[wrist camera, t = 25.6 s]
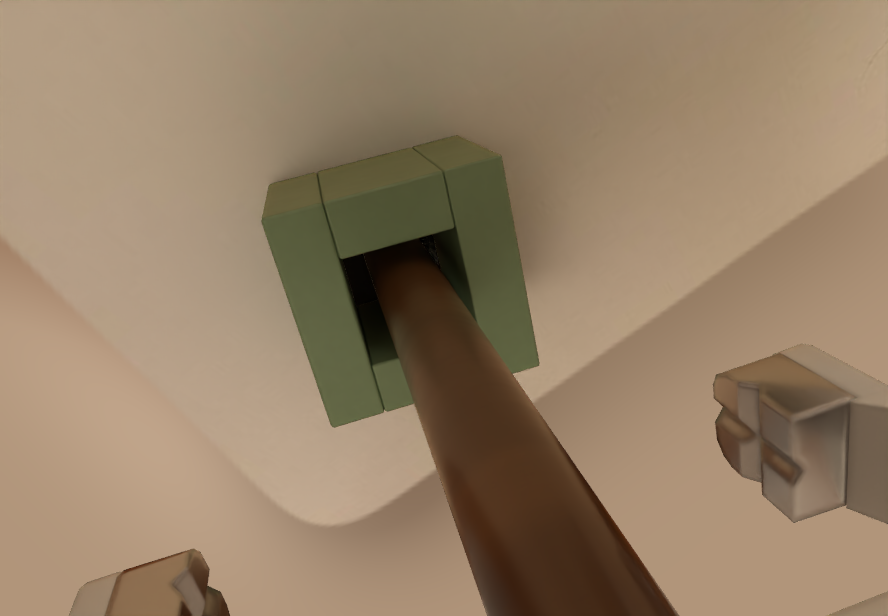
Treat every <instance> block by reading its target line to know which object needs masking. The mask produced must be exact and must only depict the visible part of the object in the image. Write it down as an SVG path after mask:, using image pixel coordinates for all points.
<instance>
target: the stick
mask: <svg viewBox="0 0 888 616" xmlns="http://www.w3.org/2000/svg"><path fill="white" fill-rule="evenodd" d="M364 259H365V262H366V265H367V268H368V271H369V274H370V277H371V279H372V282H373V285H374V288H375V291H376V294H377V297H378V300H379V303H380V306H381V309H382V311H383V314H384V317H385V320H386V323H387V326H388V329H389V332H390V335H391V338H392V340H393V343H394V346H395V349H396V352H397V355H398V358H399V361H400V364H401V367H402V370H403V372H404V375H405V378H406V381H407V384H408V387H409V390H410V393H411V396H412V399H413V401H414V404H415V407H416V410H417V413H418V416H419V419H420V422H421V425H422V428H423V431H424V433H425V436H426V439H427V442H428V445H429V448H430V451H431V454H432V457H433V460H434V462H435V465H436V468H437V471H438V474H439V477H440V480H441V483H442V486H443V488H444V492H445V494H446V497H447V500H448V503H449V506H450V509H451V512H452V515H453V518H454V521H455V523H456V526H457V529H458V532H459V535H460V538H461V541H462V544H463V546H464V549H465V553H466V555H467V558H468V561H469V564H470V567H471V570H472V573H473V576H474V579H475V581H476V584H477V587H478V590H479V593H480V596H481V599H482V602H483V605H484V608H485V610H486V613H487V616H679V615H678V613H677V612H676V610H675V609H674V608H673V606H672V605H671V603H670V602H669V600H668V599H667V597H666V596H665V595H664V593H663V592H662V590H661V589H660V587H659V586H658V585H657V583H656V582H655V580H654V579H653V577H652V576H651V574H650V573H649V571H648V570H647V568H646V567H645V566H644V564H643V563H642V561H641V560H640V558H639V557H638V555H637V554H636V552H635V551H634V550H633V548H632V547H631V545H630V544H629V542H628V541H627V539H626V538H625V537H624V535H623V534H622V532H621V531H620V529H619V528H618V526H617V525H616V524H615V522H614V521H613V519H612V518H611V516H610V515H609V514H608V512H607V511H606V509H605V508H604V506H603V505H602V503H601V502H600V500H599V499H598V497H597V496H596V495H595V493H594V492H593V490H592V489H591V487H590V486H589V484H588V483H587V481H586V480H585V479H584V477H583V476H582V474H581V473H580V471H579V470H578V469H577V467H576V466H575V464H574V463H573V461H572V460H571V458H570V457H569V455H568V454H567V452H566V451H565V450H564V448H563V447H562V445H561V444H560V442H559V441H558V439H557V438H556V436H555V435H554V434H553V432H552V431H551V429H550V428H549V427H548V425H547V423H546V422H545V421H544V419H543V418H542V416H541V415H540V413H539V412H538V410H537V409H536V408H535V406H534V405H533V403H532V402H531V400H530V399H529V397H528V396H527V394H526V393H525V392H524V390H523V389H522V387H521V386H520V384H519V383H518V381H517V380H516V379H515V377H514V376H513V374H512V373H511V371H510V370H509V368H508V367H507V365H506V364H505V363H504V361H503V360H502V358H501V357H500V355H499V354H498V352H497V351H496V350H495V348H494V347H493V345H492V344H491V342H490V341H489V339H488V338H487V336H486V335H485V334H484V332H483V331H482V329H481V328H480V326H479V325H478V323H477V322H476V321H475V319H474V318H473V316H472V315H471V313H470V312H469V310H468V309H467V307H466V306H465V305H464V303H463V302H462V300H461V299H460V297H459V296H458V294H457V293H456V292H455V290H454V289H453V287H452V286H451V284H450V283H449V281H448V280H447V278H446V277H445V276H444V274H443V273H442V271H441V270H440V268H439V267H438V265H437V264H436V263H435V261H434V260H433V258H432V257H431V255H430V254H429V252H428V251H427V250H426V248H425V247H424V245H423V244H422V242H421V241H420V239H419V238H417V239H414V240H410V241H406V242H403V243H399V244H396V245H392V246H388V247H385V248H381V249H377V250H374V251H370V252H367V253H364Z"/></svg>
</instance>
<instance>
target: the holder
mask: <svg viewBox="0 0 888 616" xmlns="http://www.w3.org/2000/svg"><path fill="white" fill-rule="evenodd" d="M261 222H262V225H263V228H264V231H265V234H266V237H267V240H268V243H269V246H270V248H271V251H272V254H273V257H274V260H275V263H276V266H277V269H278V272H279V275H280V278H281V281H282V284H283V287H284V289H285V292H286V295H287V298H288V301H289V304H290V307H291V310H292V313H293V316H294V319H295V322H296V325H297V327H298V330H299V333H300V336H301V339H302V342H303V345H304V348H305V351H306V354H307V357H308V360H309V363H310V365H311V368H312V371H313V374H314V377H315V380H316V383H317V386H318V389H319V392H320V395H321V398H322V401H323V404H324V406H325V409H326V412H327V415H328V418H329V421H330V424H331V426H332V427H338V426H341V425H345V424H348V423H351V422H354V421H358V420H361V419H364V418H367V417H371V416H374V415H377V414H381V413H383V412H384V409H385V411H391V410H394V409H398V408H401V407H404V406H407V405H411V404H414V401H413V399H412V396H411V393H410V390H409V387H408V384H407V381H406V378H405V375H404V372H403V370H402V367H401V364H400V361H399V358H398V355H397V352H396V349H395V346H394V343H393V340H392V338H391V335H390V332H389V329H388V326H387V323H386V320H385V317H384V314H383V311H382V309H381V306H380V303H379V300H375V301H371V302H368V303H364V304H361V305H358V306H356V302H355V299H354V296H353V292H352V289H351V285H350V282H349V279H348V275H347V272H346V269H345V265H344V262H343V259H345V258H349V257H352V256H356V255H359V254H363V253H367V252H370V251H374V250H377V249H381V248H385V247H388V246H392V245H396V244H399V243H403V242H406V241H410V240H414V239H417V238H421V237H424V236H428V235H432V234H433V238H434V242H435V246H436V251H437V255H438V259H439V263H440V268H441V271H442V273H443V274H444V276H445V277H446V278H447V280H448V281H449V283H450V284H451V286H452V287H453V289H454V290H455V292H456V293H457V294H458V296H459V297H460V299H461V300H462V302H463V303H464V305H465V306H466V307H467V309H468V310H469V312H470V313H471V315H472V316H473V318H474V319H475V321H476V322H477V323H478V325H479V326H480V328H481V329H482V331H483V332H484V334H485V335H486V336H487V338H488V339H489V341H490V342H491V344H492V345H493V347H494V348H495V350H496V351H497V352H498V354H499V355H500V357H501V358H502V360H503V361H504V363H505V364H506V365H507V367H508V368H509V370H510V371H511V373H512V374H513V373H516V372H520V371H523V370H526V369H529V368H533V367H536V366H539V359H538V353H537V348H536V342H535V337H534V331H533V326H532V320H531V315H530V309H529V304H528V298H527V293H526V287H525V282H524V276H523V271H522V265H521V260H520V254H519V249H518V243H517V238H516V232H515V227H514V221H513V216H512V211H511V205H510V200H509V194H508V189H507V183H506V178H505V172H504V167H503V161H502V156H501V155H499V154H497V153H495V152H493V151H491V150H488V149H486V148H484V147H482V146H480V145H478V144H475V143H473V142H471V141H469V140H467V139H465V138H462V137H460V136H458V135H456V136H452V137H449V138H445V139H441V140H437V141H433V142H429V143H425V144H422V145H418V146H414V147H413V149H412V148H407V149H403V150H399V151H395V152H391V153H388V154H384V155H380V156H376V157H372V158H368V159H364V160H361V161H357V162H353V163H349V164H345V165H341V166H338V167H334V168H330V169H326V170H322V171H319V172H318V175H317V173H311V174H307V175H303V176H299V177H295V178H291V179H288V180H284V181H280V182H276V183H272V184H270V185H269V187H268V192H267V196H266V201H265V206H264V210H263V215H262V220H261Z"/></svg>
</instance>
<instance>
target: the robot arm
mask: <svg viewBox="0 0 888 616" xmlns="http://www.w3.org/2000/svg"><path fill="white" fill-rule="evenodd" d="M713 392H714V399H715V400H716V401H718V402H719V403H720V404H721V405H722V406H723V408H722V410H721V412H720V414H719V416H718V417H717V419H716V421H715V424H716V434H717V440H718V443H719V445H720V448H721V450H722V453H723V455H724V457H725V458H726V459H727V461H728V462H729V464H730V465H731V467H732V468H734V469H735V470H736V471H737V472H738V473H739V474H740V475H741V476H742V477H744V478H747V479H751V480H754V481H757V482H761V483H762V495H763V496H764V497H765V498H767V500H769V501H770V502H771V503H772V504H773V505H774V506H775V507H776V508H778V509H779V510H780V511H781V512H782V513H783V514H784V515H786V516H787V517H788V518H789V519H790V520H791V521H792V522H793V523H795V522H798V521H801V520H804V519H807V518H810V517H813V516H815V515H818V514H821V513H824V512H827V511H830V510H833V509H836V508H839V507H842V506H845V505H847V507H846V508H848V509H850V510H853V511H856V512H858V513H861V514H863V515H866V516H868V517H871V518H874V519H876V520H879V521H881V522H884V523H887V524H888V385H886V384H884V383H882V382H881V381H879V380H876V379H875V378H873V377H871V376H869V375H867V374H865V373H863V372H861V371H860V370H858V369H856V368H854V367H852V366H850V365H848V364H847V363H845V362H843V361H841V360H839V359H837V358H835V357H833V356H831V355H830V354H828V353H826V352H824V351H822V350H820V349H818V348H816V347H814V346H813V345H807V344H800V345H797V346H794V347H791V348H789V349H786V350H783V351H781V352H778V353H775V354H773V355H772V356H770V357H767V358H764V359H761V360H758V361H755V362H752V363H749V364H746V365H743V366H740V367H737V368H734V369H731V370H729V371H726V372H723V373H720V374H717V375H716V377H715V380H714V383H713ZM208 577H209V567H208V565H207V563H206V562H205V560H204V558H203V556H202V554H201V552H200V551H197V550H195V549H190V550H187V551H184V552H181V553H178V554H174V555H171V556H168V557H165V558H162V559H158V560H155V561H152V562H149V563H145V564H142V565H139V566H136V567H133V568H129V569H126V570H124V571H123V572H117V573H114V574H111V575H108V576H105V577H102V578H99V579H96V580H93V581H90V582H87V583H86V584H85V585H84V586H82V587H81V588H80V589H79V591H78V593H77V596H76V598H75V601H74V603H73V606H72V609H71V611H70V614H69V616H230V614H229V611H228V608H227V604H226V602H225V600H224V598H223V596H222V594H221V592H220V591H218V590H215V589H213V588H211V587H209V586H207V583H208ZM827 616H888V591H887V592H885V593H883V594H880V595H877V596H875V597H872V598H870V599H867V600H865V601H862V602H860V603H857V604H855V605H852V606H850V607H847V608H845V609H842V610H840V611H837V612H835V613H832V614H830V615H827Z"/></svg>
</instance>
